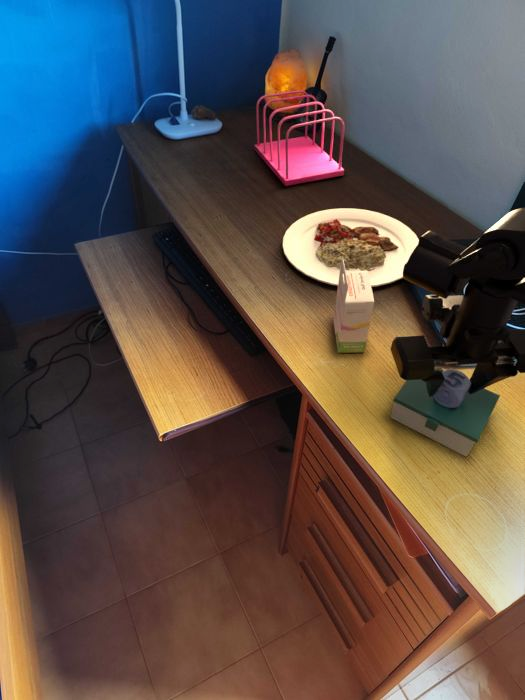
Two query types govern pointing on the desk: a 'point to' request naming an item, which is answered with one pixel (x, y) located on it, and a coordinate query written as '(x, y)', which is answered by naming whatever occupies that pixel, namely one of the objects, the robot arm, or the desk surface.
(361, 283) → the ink box
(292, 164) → the file sorter
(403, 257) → the plated food
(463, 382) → the decorative dice
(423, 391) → the box
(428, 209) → the desk surface
